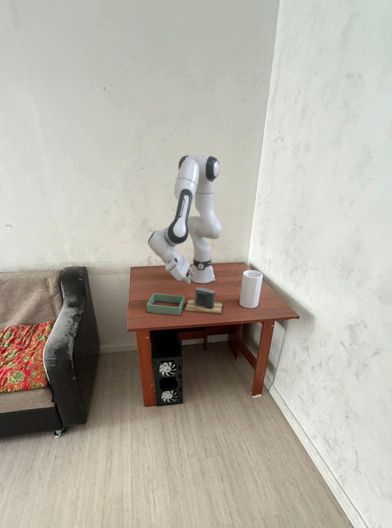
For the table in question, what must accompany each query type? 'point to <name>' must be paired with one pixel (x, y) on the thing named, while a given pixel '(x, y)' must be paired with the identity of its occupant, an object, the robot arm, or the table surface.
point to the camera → (204, 297)
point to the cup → (250, 288)
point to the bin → (165, 309)
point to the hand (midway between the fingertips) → (191, 279)
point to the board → (193, 307)
